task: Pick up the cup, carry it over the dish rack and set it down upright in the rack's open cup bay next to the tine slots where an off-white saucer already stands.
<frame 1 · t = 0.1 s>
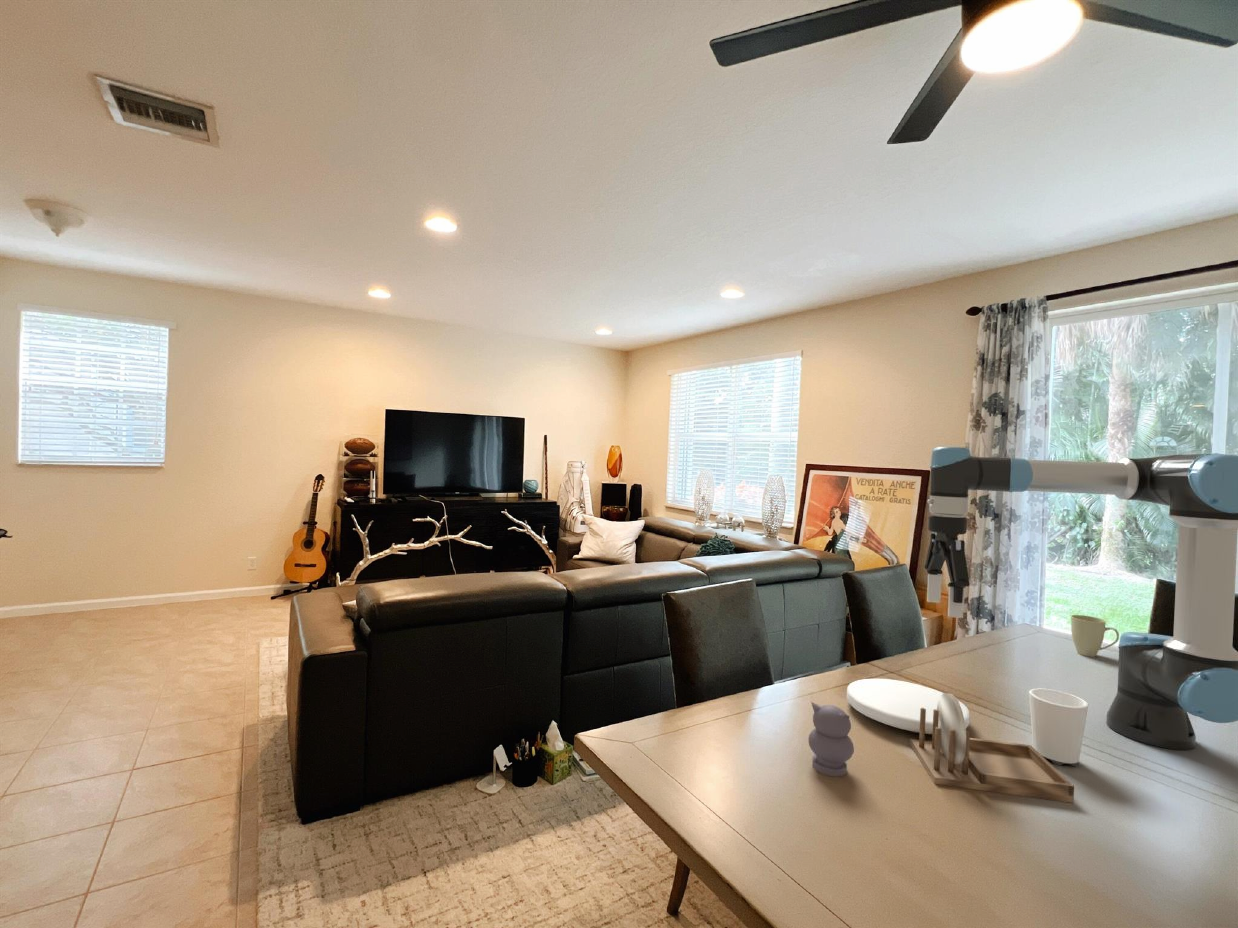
hand: (943, 609, 128), 28 cm above the table, fingers open, 13 cm apart
mug: (1090, 655, 189), on the table
cat figurine: (829, 768, 112), on the table
plate: (905, 717, 137), on the table
rack: (984, 770, 113), on the table
cup: (1055, 758, 119), on the table
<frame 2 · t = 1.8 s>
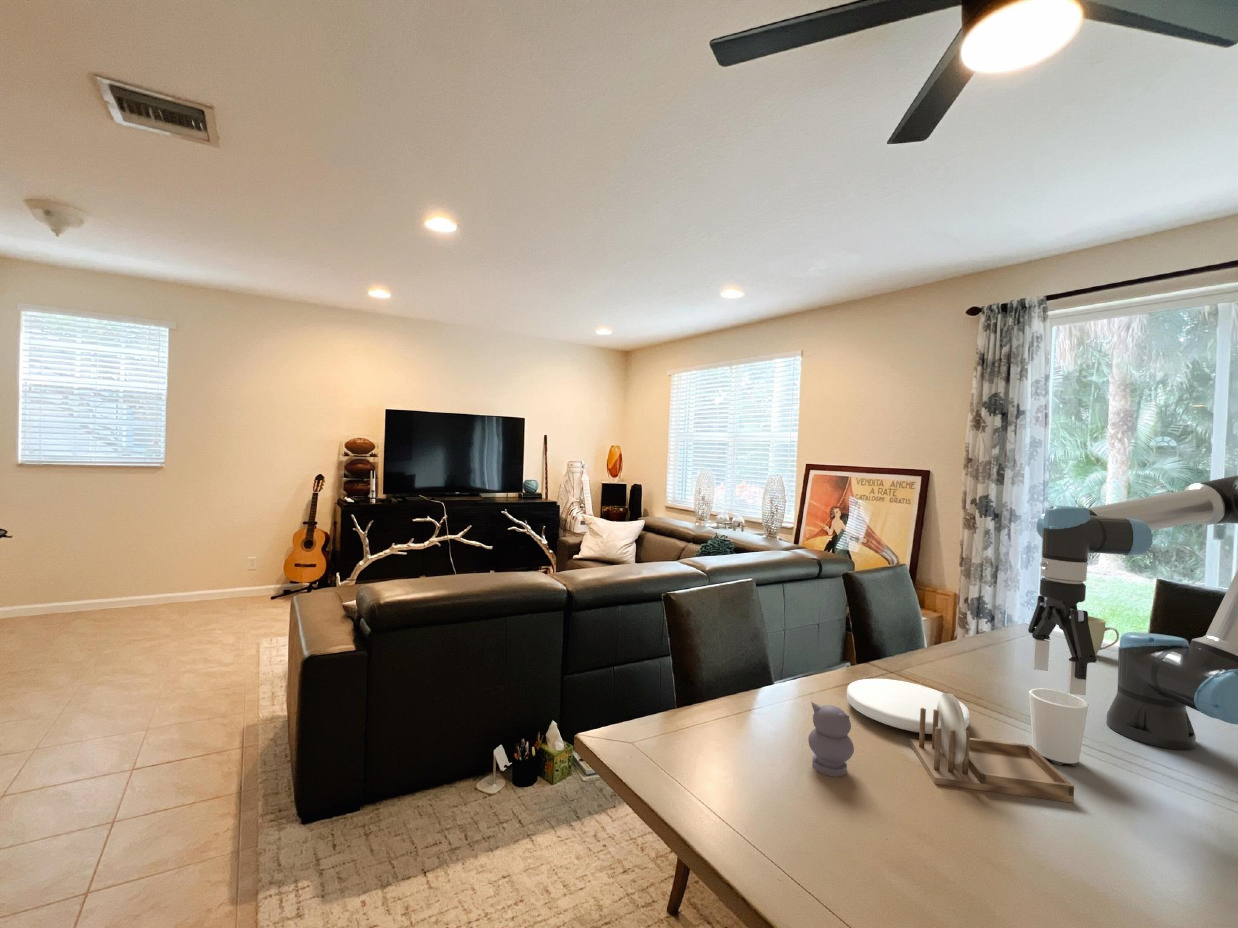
hand: (1057, 681, 119), 16 cm above the table, fingers open, 13 cm apart
nothing on the table moved.
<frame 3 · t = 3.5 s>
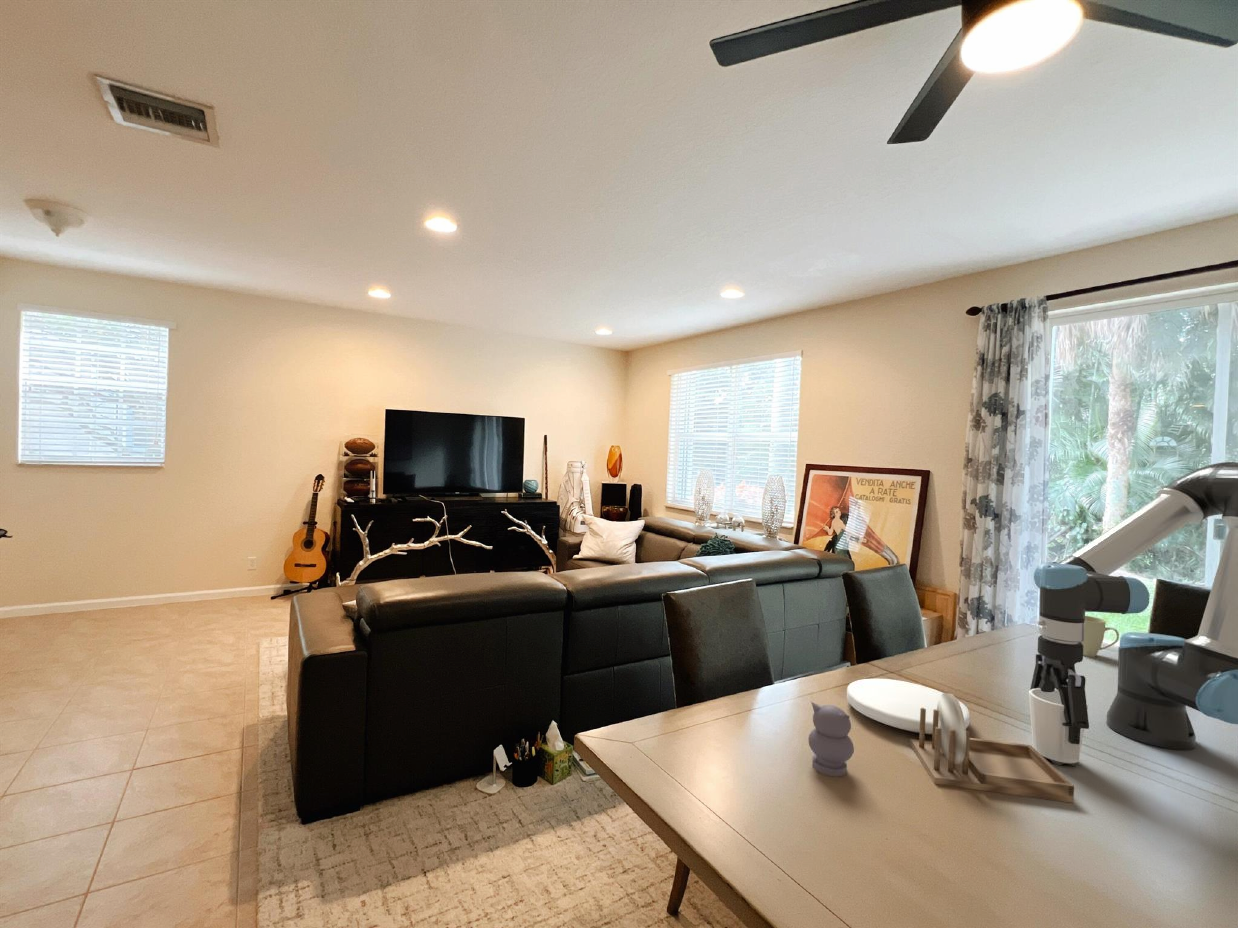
hand: (1055, 744, 119), 3 cm above the table, fingers closed on cup, 10 cm apart
cup: (1055, 758, 119), on the table, touching gripper
everything else where it was.
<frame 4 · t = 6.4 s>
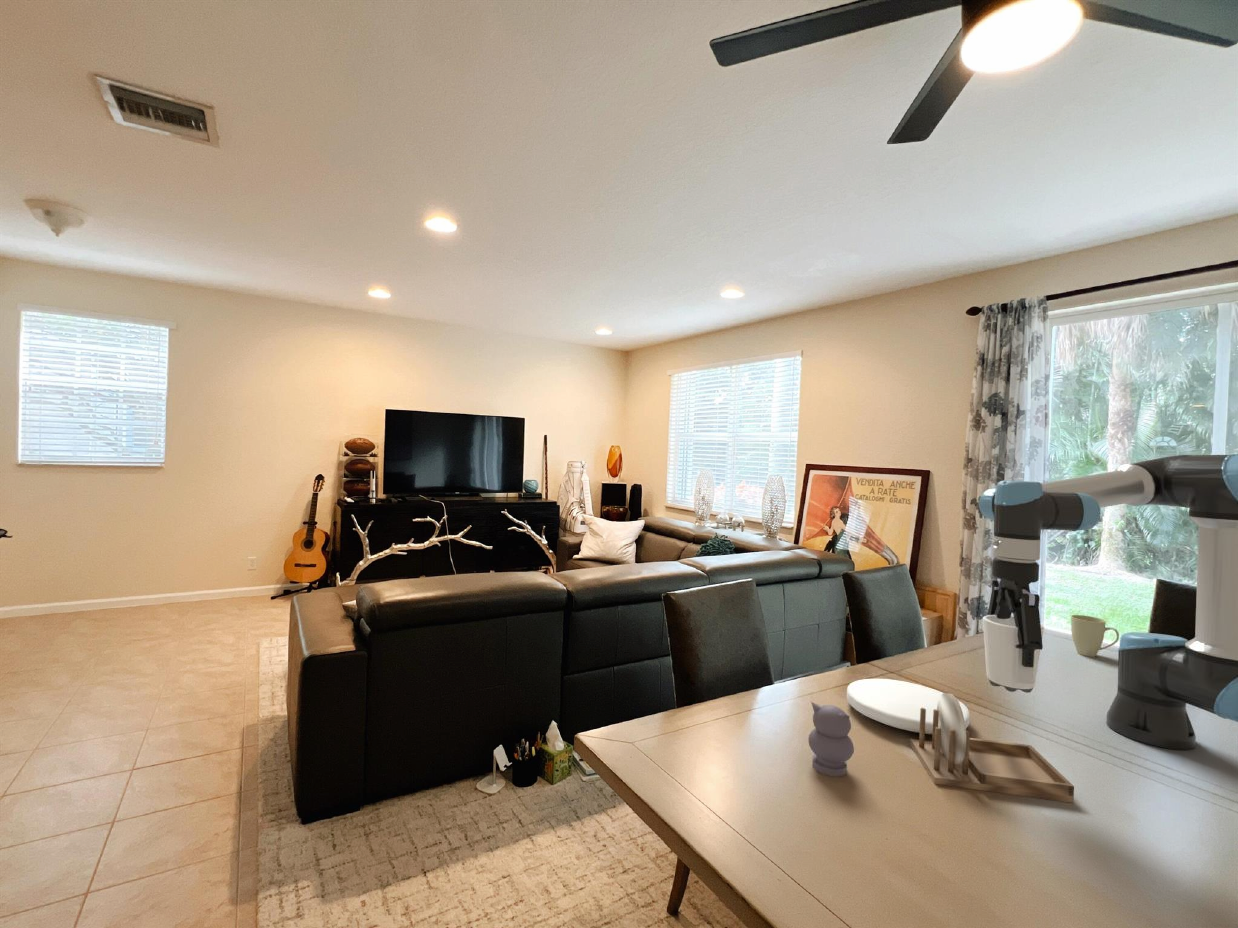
hand: (1010, 672, 112), 20 cm above the table, fingers closed on cup, 10 cm apart
cup: (1009, 687, 112), point 17 cm above the table, touching gripper
everything else where it was.
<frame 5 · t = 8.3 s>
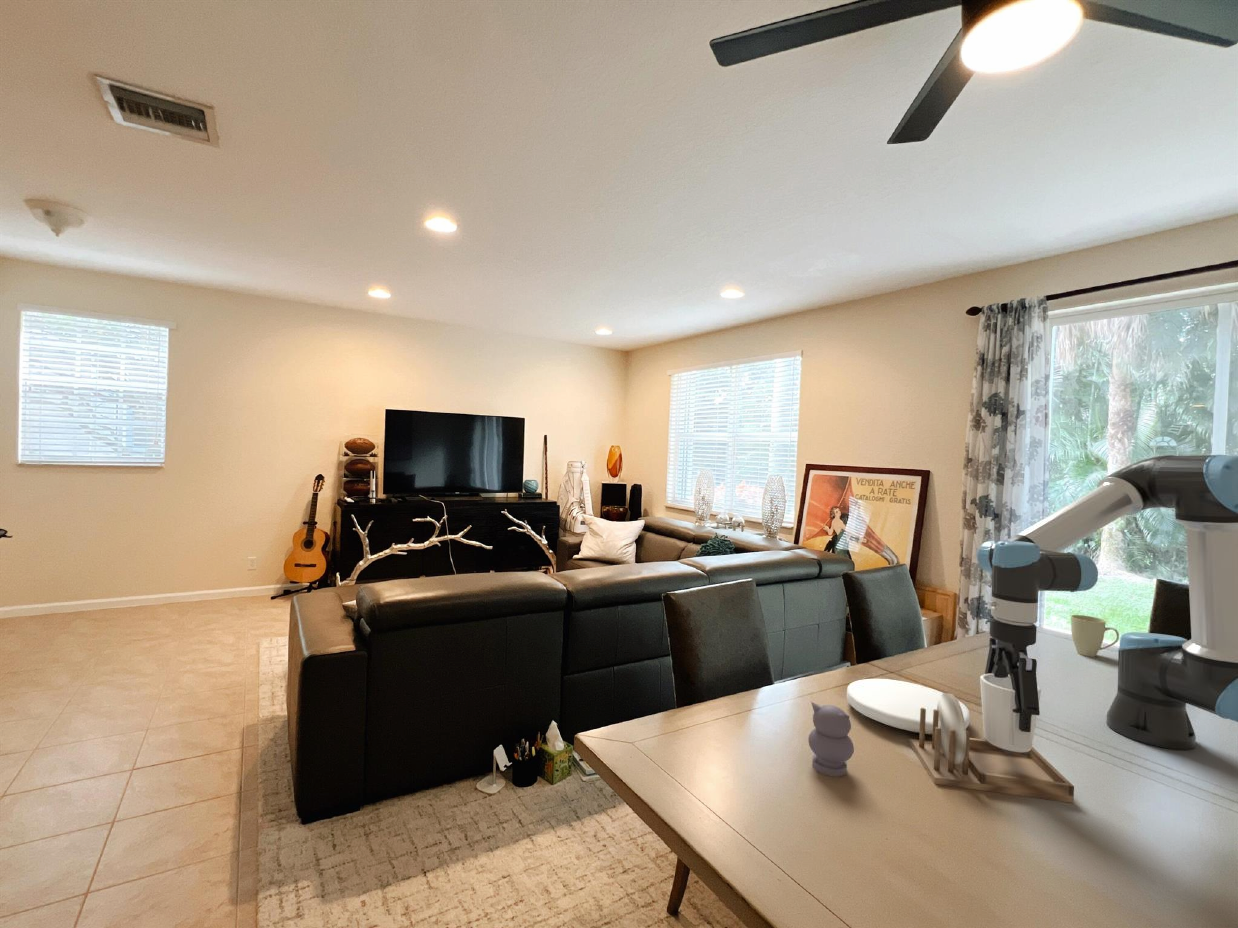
hand: (1007, 733, 112), 8 cm above the table, fingers closed on cup, 10 cm apart
cup: (1006, 747, 112), point 5 cm above the table, touching gripper
everything else where it was.
when the fingers open (5 cm above the table, at t = 9.5 s): cup drops 1 cm, resting on rack.
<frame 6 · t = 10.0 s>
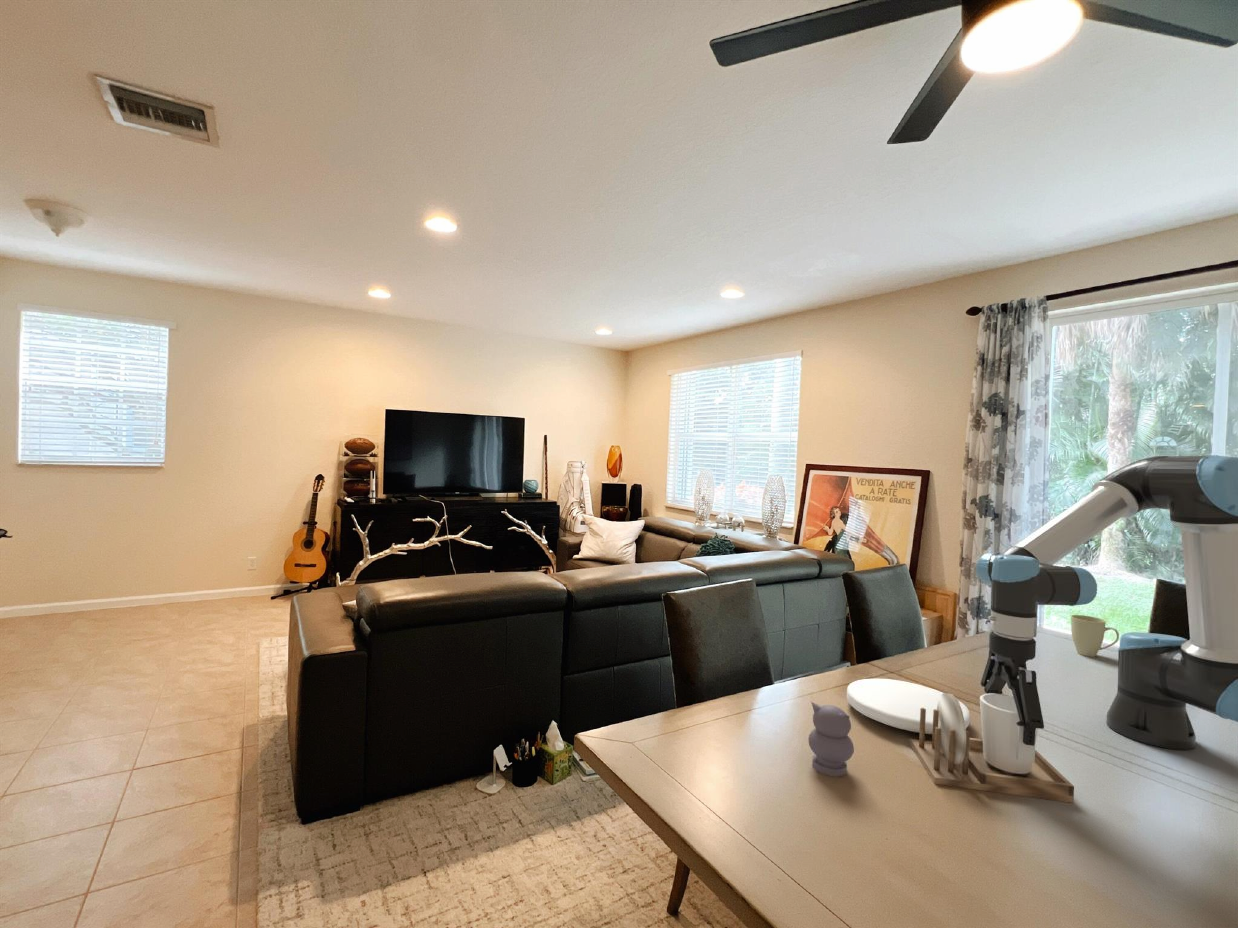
hand: (1007, 742, 112), 6 cm above the table, fingers open, 13 cm apart
cup: (1006, 768, 112), point 1 cm above the table, touching rack
everything else where it was.
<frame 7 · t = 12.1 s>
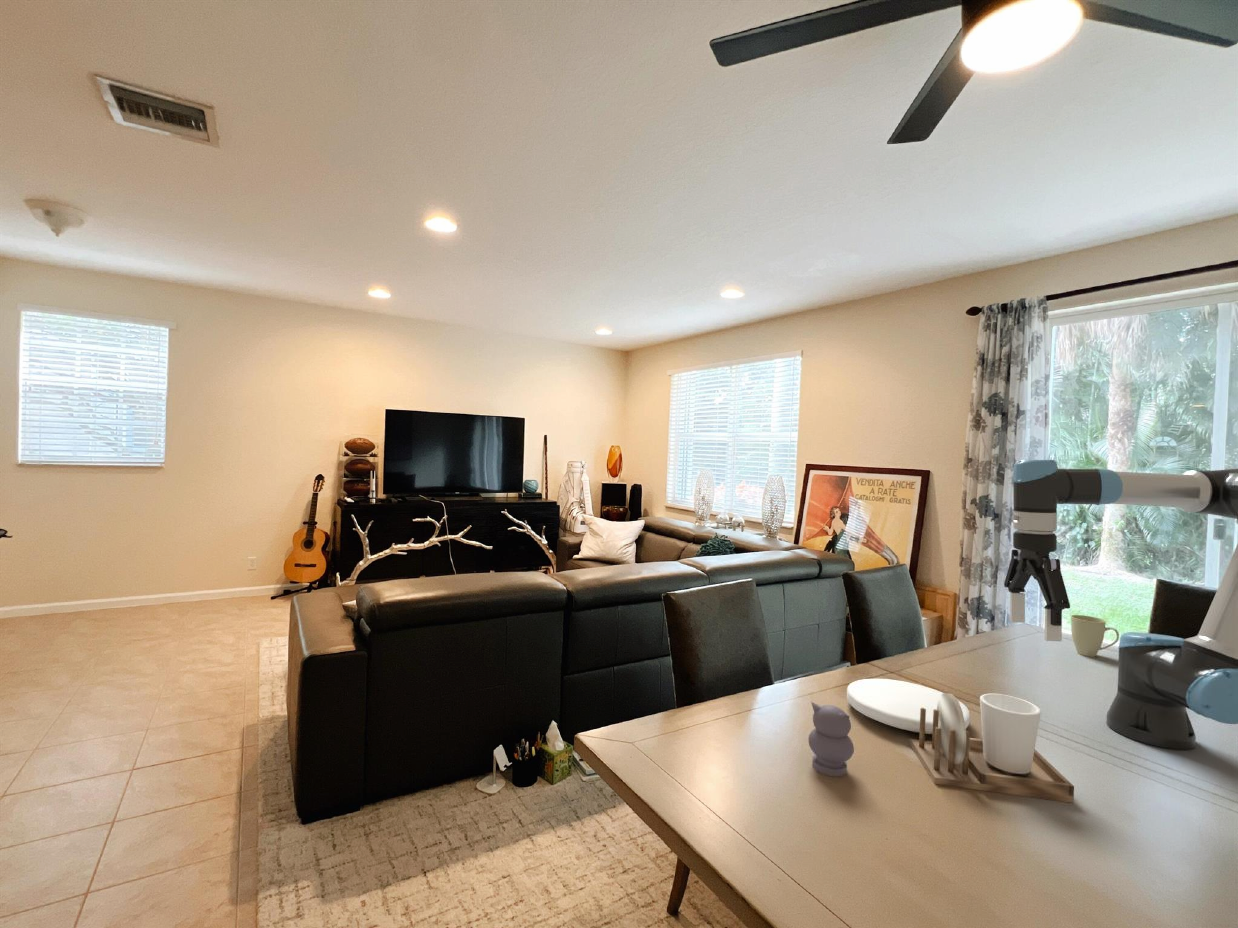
hand: (1034, 630, 122), 26 cm above the table, fingers open, 13 cm apart
nothing on the table moved.
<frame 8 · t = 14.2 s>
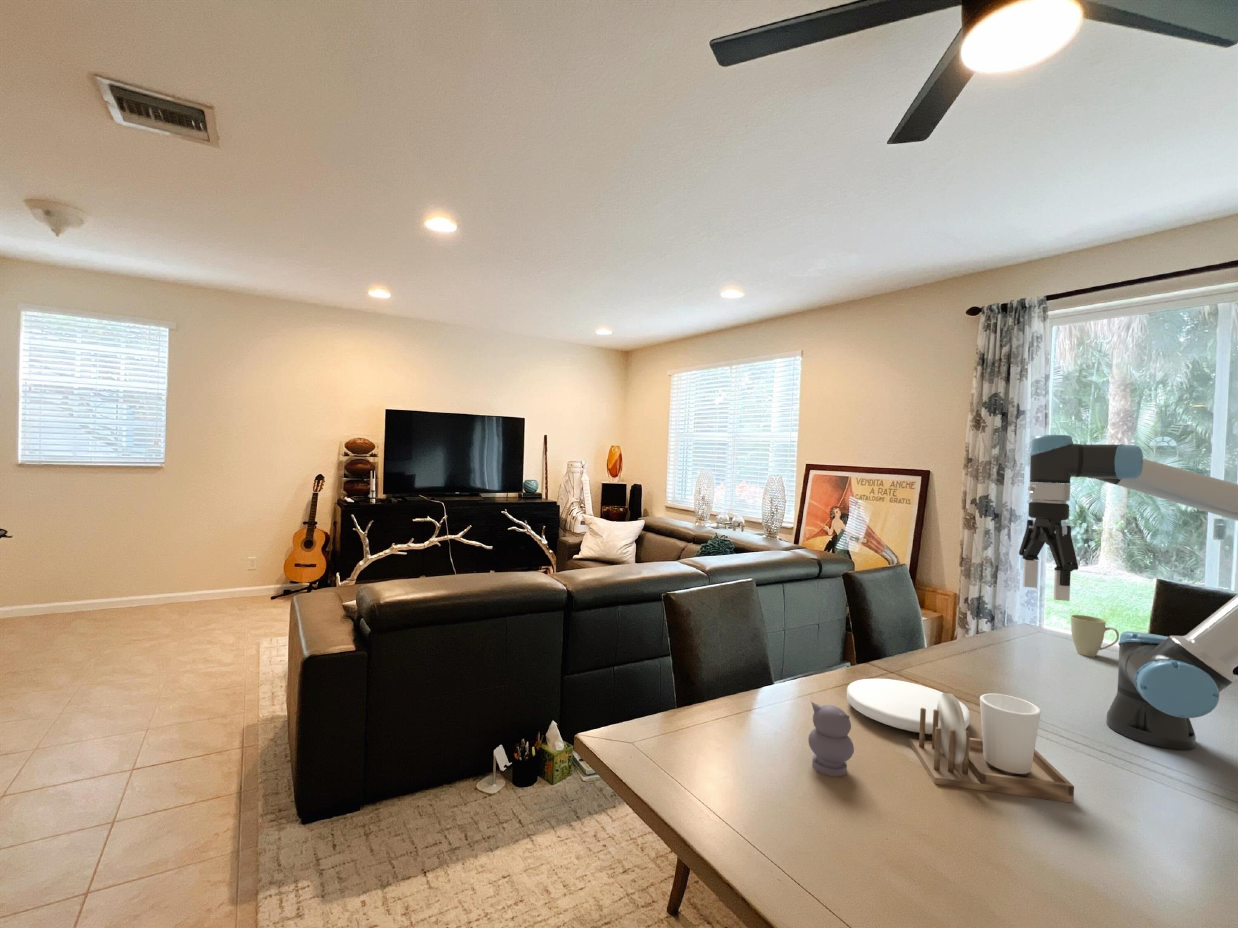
hand: (1044, 593, 132), 32 cm above the table, fingers open, 13 cm apart
nothing on the table moved.
at the end: cup inside the target area on the rack (0.1 cm from its centre), point 1.0 cm above the rack's base; cup tilted 0°; the gripper is holding nothing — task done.
